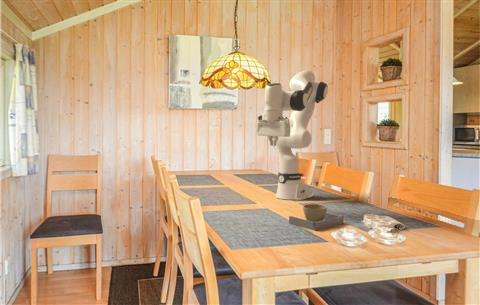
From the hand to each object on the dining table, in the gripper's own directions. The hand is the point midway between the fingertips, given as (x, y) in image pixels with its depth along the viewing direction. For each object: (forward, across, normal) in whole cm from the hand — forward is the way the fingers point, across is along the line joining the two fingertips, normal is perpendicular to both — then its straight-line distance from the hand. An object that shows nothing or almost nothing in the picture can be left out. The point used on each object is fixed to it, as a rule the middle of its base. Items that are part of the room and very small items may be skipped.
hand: (273, 145), depth 186 cm
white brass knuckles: (+32, -50, -14) cm, 61 cm away
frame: (+31, -31, +4) cm, 44 cm away
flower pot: (+31, -30, +4) cm, 44 cm away
